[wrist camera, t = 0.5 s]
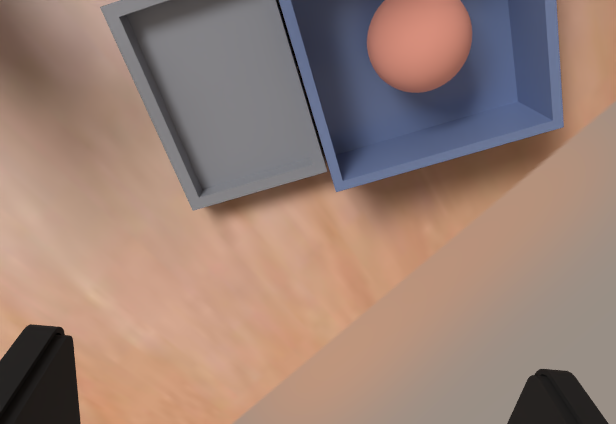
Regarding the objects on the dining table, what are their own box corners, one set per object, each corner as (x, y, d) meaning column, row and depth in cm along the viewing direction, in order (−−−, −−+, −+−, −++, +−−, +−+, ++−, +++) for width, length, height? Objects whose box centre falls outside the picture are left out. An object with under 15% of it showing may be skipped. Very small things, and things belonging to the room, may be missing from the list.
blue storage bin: (501, -130, 28) (547, -153, 23) (523, 105, 34) (563, 127, 29) (267, -50, 29) (262, -56, 24) (329, 161, 35) (336, 192, 30)
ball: (445, -31, 29) (480, -32, 24) (460, 66, 32) (494, 85, 26) (350, 0, 30) (363, 5, 24) (372, 93, 32) (388, 116, 27)
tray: (262, -47, 29) (261, -48, 27) (325, 161, 35) (327, 171, 33) (111, 5, 30) (100, 7, 28) (197, 198, 36) (192, 210, 34)
